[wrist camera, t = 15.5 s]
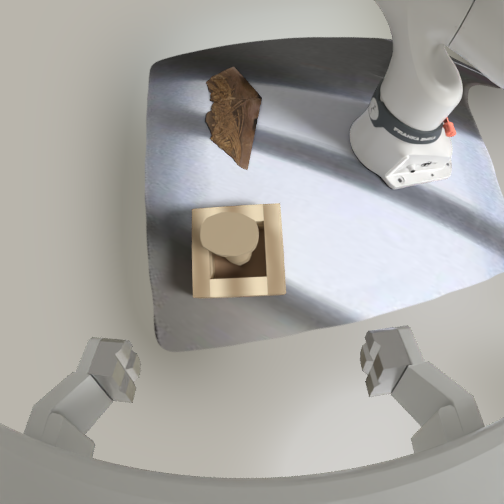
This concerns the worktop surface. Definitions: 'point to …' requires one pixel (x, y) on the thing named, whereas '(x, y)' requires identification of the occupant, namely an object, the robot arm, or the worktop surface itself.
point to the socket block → (247, 275)
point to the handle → (230, 236)
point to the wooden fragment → (233, 114)
